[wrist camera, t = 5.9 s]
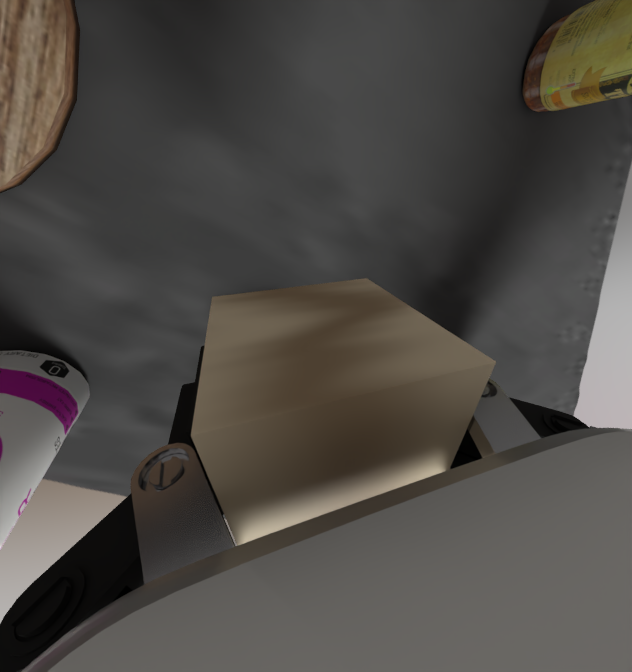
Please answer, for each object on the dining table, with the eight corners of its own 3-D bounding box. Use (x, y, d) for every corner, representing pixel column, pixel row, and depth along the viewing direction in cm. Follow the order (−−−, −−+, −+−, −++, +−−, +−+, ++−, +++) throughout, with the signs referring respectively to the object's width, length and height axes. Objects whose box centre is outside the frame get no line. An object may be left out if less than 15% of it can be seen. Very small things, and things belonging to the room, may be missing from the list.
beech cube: (366, 278, 10) (496, 362, 5) (357, 388, 13) (433, 505, 8) (212, 296, 9) (190, 435, 4) (241, 415, 12) (250, 577, 7)
